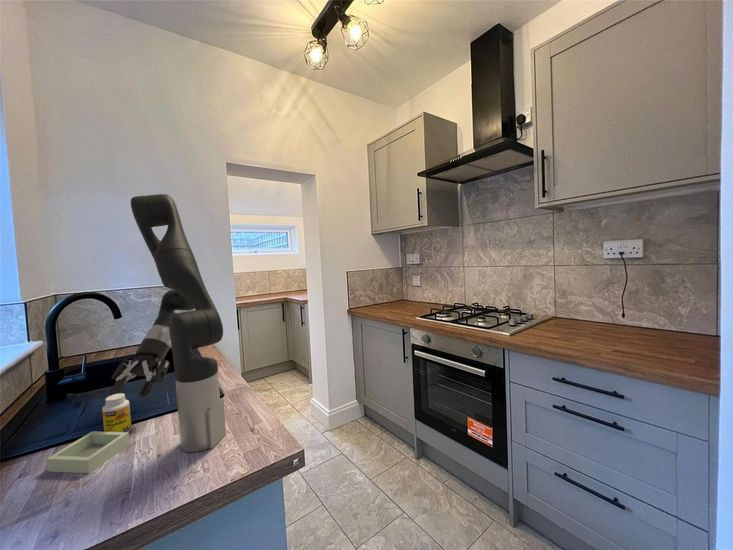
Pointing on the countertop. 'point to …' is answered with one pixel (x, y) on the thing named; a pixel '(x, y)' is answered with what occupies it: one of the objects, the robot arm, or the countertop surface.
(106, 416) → the supplement bottle
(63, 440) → the countertop surface
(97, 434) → the socket block
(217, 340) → the robot arm
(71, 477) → the countertop surface
